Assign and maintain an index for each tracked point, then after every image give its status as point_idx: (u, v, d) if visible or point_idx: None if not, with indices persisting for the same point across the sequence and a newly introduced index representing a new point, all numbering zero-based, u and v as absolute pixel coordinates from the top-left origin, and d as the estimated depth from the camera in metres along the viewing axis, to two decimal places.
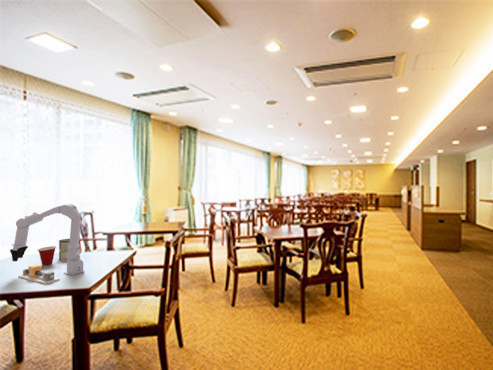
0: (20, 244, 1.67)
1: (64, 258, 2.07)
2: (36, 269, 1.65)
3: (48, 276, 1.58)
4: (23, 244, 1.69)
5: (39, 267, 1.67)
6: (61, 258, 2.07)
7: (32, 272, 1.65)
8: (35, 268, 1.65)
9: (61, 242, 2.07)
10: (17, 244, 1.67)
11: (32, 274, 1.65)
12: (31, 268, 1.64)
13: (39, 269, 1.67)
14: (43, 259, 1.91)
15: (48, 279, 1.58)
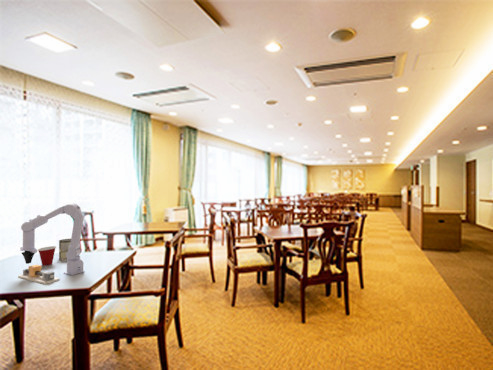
0: (32, 247, 1.70)
1: (64, 258, 2.07)
2: (36, 269, 1.65)
3: (48, 276, 1.58)
4: None
5: (39, 267, 1.67)
6: (61, 258, 2.07)
7: (32, 272, 1.65)
8: (35, 268, 1.65)
9: (61, 242, 2.07)
10: (30, 247, 1.68)
11: (32, 274, 1.65)
12: (31, 268, 1.64)
13: (39, 269, 1.67)
14: (43, 259, 1.91)
15: (48, 279, 1.58)
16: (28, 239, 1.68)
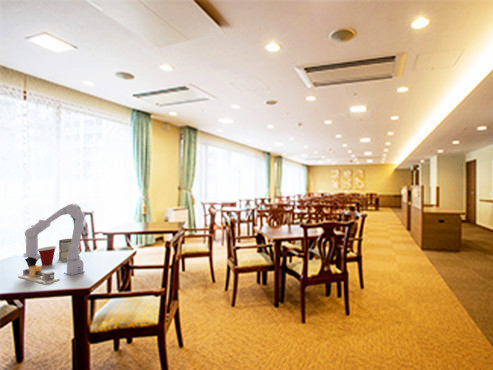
0: (36, 253, 1.68)
1: (64, 258, 2.07)
2: (36, 269, 1.65)
3: (48, 276, 1.58)
4: (37, 253, 1.69)
5: (39, 267, 1.67)
6: (61, 258, 2.07)
7: (32, 272, 1.64)
8: (35, 268, 1.65)
9: (61, 242, 2.07)
10: (33, 254, 1.67)
11: (32, 274, 1.64)
12: (31, 268, 1.64)
13: (39, 269, 1.67)
14: (43, 259, 1.91)
15: (48, 279, 1.58)
16: (32, 245, 1.66)
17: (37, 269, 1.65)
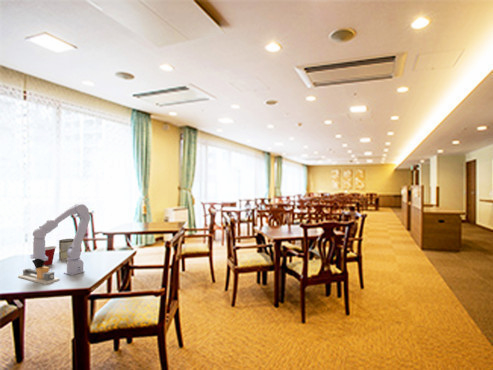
0: (43, 255, 1.65)
1: (64, 258, 2.07)
2: (44, 271, 1.62)
3: (48, 276, 1.58)
4: None
5: (47, 269, 1.63)
6: (61, 258, 2.07)
7: (40, 274, 1.61)
8: (43, 270, 1.61)
9: (61, 242, 2.07)
10: (41, 255, 1.63)
11: (40, 276, 1.61)
12: (39, 270, 1.61)
13: (47, 271, 1.63)
14: None
15: (48, 279, 1.58)
16: (41, 246, 1.64)
17: (44, 271, 1.62)
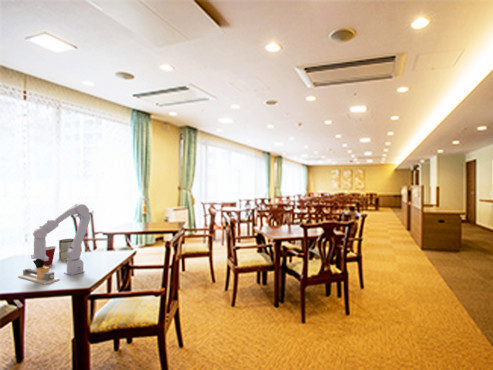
0: (44, 255, 1.64)
1: (64, 258, 2.07)
2: (44, 271, 1.62)
3: (48, 276, 1.58)
4: (45, 254, 1.66)
5: (47, 269, 1.63)
6: (61, 258, 2.07)
7: (40, 274, 1.61)
8: (43, 270, 1.61)
9: (61, 242, 2.07)
10: (41, 255, 1.63)
11: (40, 276, 1.61)
12: (39, 270, 1.61)
13: (47, 271, 1.63)
14: None
15: (48, 279, 1.58)
16: (42, 246, 1.63)
17: (45, 271, 1.62)
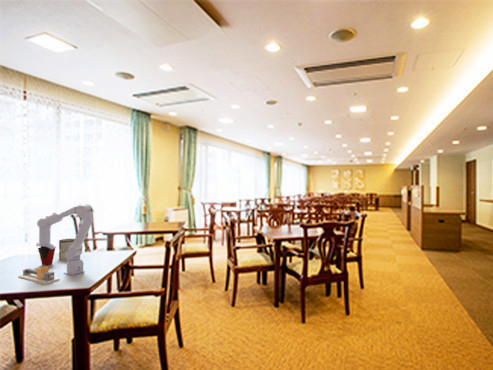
0: (48, 242, 1.75)
1: (64, 258, 2.07)
2: (44, 271, 1.62)
3: (48, 276, 1.58)
4: None
5: (47, 269, 1.63)
6: (61, 258, 2.07)
7: (40, 274, 1.61)
8: (43, 270, 1.61)
9: (61, 242, 2.07)
10: (46, 243, 1.74)
11: (40, 276, 1.61)
12: (39, 270, 1.61)
13: (47, 271, 1.63)
14: (43, 259, 1.91)
15: (48, 279, 1.58)
16: (43, 235, 1.73)
17: (44, 271, 1.62)
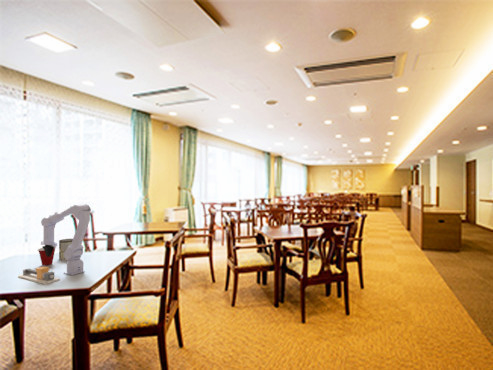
0: (52, 241, 1.80)
1: (64, 258, 2.07)
2: (44, 271, 1.62)
3: (48, 276, 1.58)
4: None
5: (47, 269, 1.63)
6: (61, 258, 2.07)
7: (40, 274, 1.61)
8: (43, 270, 1.61)
9: (61, 242, 2.07)
10: (50, 242, 1.79)
11: (40, 276, 1.61)
12: (39, 270, 1.61)
13: (47, 271, 1.63)
14: (43, 259, 1.91)
15: (48, 279, 1.58)
16: (46, 234, 1.77)
17: (44, 271, 1.62)
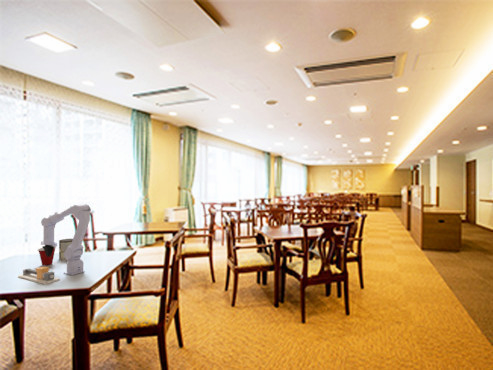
0: (52, 241, 1.80)
1: (64, 258, 2.07)
2: (44, 271, 1.62)
3: (48, 276, 1.58)
4: None
5: (47, 269, 1.63)
6: (61, 258, 2.07)
7: (40, 274, 1.61)
8: (43, 270, 1.61)
9: (61, 242, 2.07)
10: (50, 242, 1.79)
11: (40, 276, 1.61)
12: (39, 270, 1.61)
13: (47, 271, 1.63)
14: (43, 259, 1.91)
15: (48, 279, 1.58)
16: (46, 234, 1.77)
17: (44, 271, 1.62)
